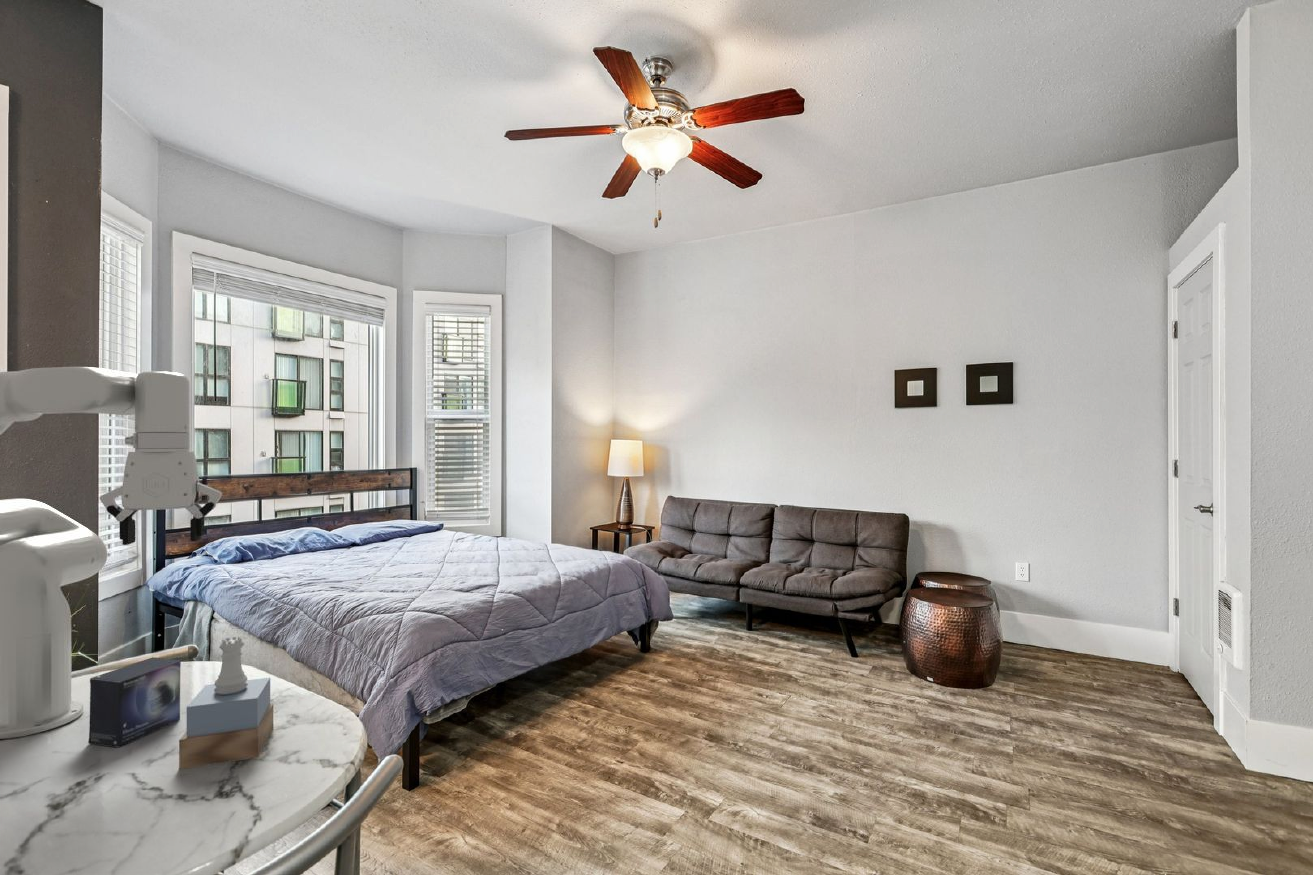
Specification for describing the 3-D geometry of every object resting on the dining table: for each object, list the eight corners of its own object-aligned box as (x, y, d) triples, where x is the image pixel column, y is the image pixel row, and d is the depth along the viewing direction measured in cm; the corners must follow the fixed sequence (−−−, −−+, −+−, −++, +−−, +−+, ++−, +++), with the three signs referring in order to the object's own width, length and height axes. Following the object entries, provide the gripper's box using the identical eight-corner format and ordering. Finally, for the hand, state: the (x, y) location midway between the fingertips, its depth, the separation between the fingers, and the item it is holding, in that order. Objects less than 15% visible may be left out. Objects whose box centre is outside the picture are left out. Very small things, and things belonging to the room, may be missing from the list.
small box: (119, 748, 99) (119, 681, 99) (86, 745, 100) (86, 678, 100) (183, 719, 109) (182, 658, 109) (151, 716, 111) (151, 656, 111)
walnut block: (179, 770, 93) (179, 739, 93) (202, 740, 102) (202, 712, 102) (258, 758, 96) (258, 728, 96) (273, 730, 106) (273, 703, 106)
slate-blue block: (186, 737, 93) (186, 706, 93) (205, 713, 102) (205, 685, 102) (257, 727, 97) (257, 697, 97) (270, 704, 105) (270, 677, 105)
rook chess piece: (241, 682, 103) (242, 632, 103) (252, 689, 100) (253, 638, 100) (209, 690, 99) (210, 639, 99) (219, 698, 96) (220, 645, 96)
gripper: (90, 443, 104) (90, 548, 104) (214, 443, 110) (214, 542, 110) (111, 443, 111) (111, 541, 111) (227, 443, 117) (227, 536, 117)
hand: (162, 542), depth 110 cm, fingers open, 9 cm apart
